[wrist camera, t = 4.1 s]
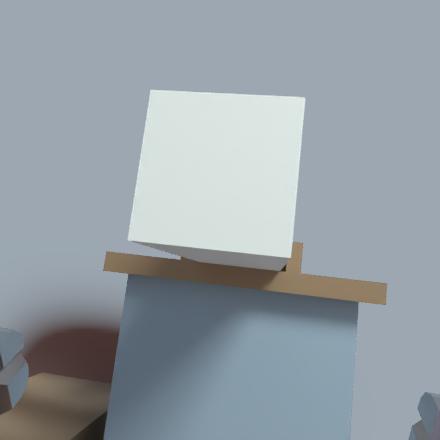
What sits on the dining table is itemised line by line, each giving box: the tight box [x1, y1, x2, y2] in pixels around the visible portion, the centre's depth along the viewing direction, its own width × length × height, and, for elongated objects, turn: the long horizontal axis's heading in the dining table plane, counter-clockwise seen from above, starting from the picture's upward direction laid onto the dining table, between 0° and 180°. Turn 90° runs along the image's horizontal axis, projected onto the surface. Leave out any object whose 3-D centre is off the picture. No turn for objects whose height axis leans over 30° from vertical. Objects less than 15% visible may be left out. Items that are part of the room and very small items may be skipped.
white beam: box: [128, 90, 305, 271], centre depth 21 cm, size 24×4×4 cm, turn 173°
